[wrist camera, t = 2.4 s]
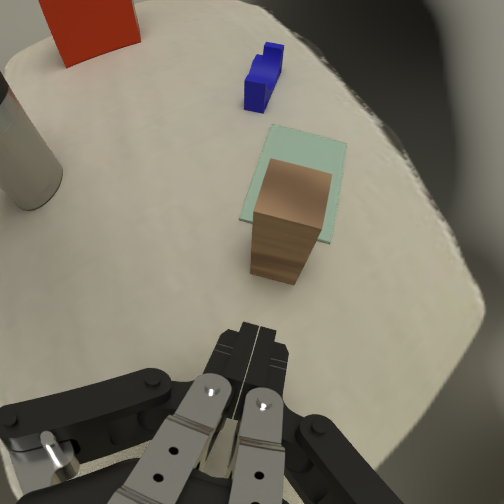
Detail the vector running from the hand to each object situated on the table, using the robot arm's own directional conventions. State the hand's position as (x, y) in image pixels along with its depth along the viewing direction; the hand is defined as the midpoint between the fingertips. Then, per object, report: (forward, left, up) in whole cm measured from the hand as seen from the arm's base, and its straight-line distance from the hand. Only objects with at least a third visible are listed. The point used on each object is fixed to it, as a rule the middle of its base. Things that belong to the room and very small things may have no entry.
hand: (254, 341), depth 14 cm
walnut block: (-6, +10, -20) cm, 23 cm away
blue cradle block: (-28, +30, -20) cm, 46 cm away
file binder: (-66, +19, -20) cm, 72 cm away
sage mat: (-12, +20, -20) cm, 31 cm away
